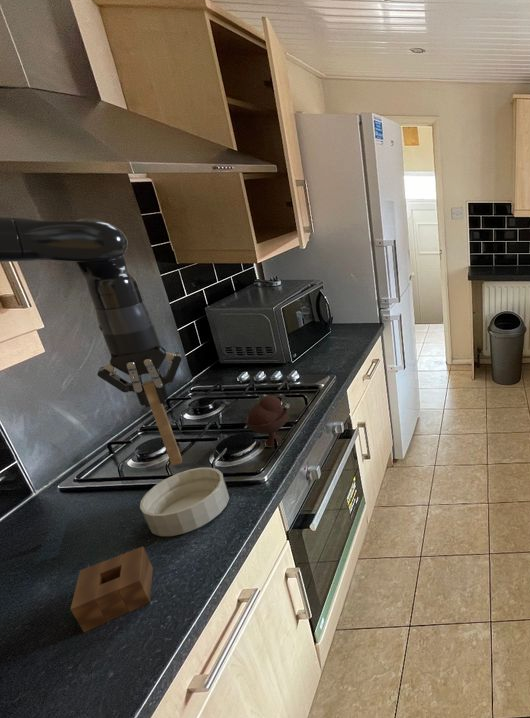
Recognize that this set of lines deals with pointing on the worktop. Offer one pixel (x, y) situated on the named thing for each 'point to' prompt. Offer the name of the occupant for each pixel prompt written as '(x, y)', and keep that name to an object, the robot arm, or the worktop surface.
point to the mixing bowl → (184, 501)
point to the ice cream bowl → (267, 418)
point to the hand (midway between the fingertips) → (155, 403)
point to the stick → (162, 423)
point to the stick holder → (112, 589)
